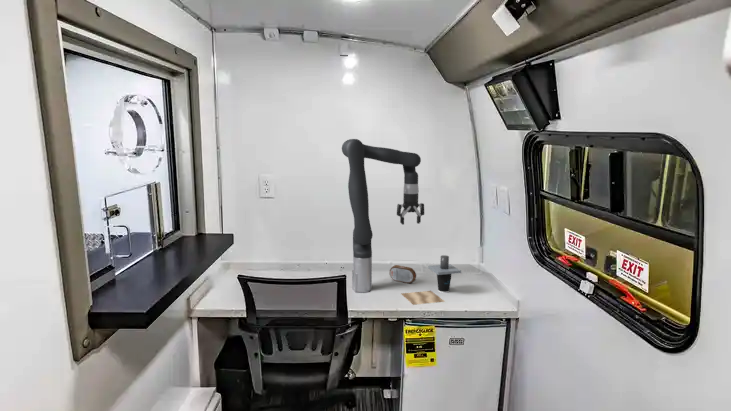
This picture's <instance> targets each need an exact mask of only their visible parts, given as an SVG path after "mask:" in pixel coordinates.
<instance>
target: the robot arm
mask: <svg viewBox="0 0 731 411" xmlns="http://www.w3.org/2000/svg"><path fill="white" fill-rule="evenodd" d="M341 152H342V154H343V155H344V156H345V157H346V158H347V159H348V164H349V175H348V181H347V182H348V183H347V187H348V188H347V189H348V196H349V197H348V198H349V203H350V207H351V211H352V214H353V224H354V228H353V230H352V254H353V260H352V261H353V263H352V266H353V267H352V268H353V269H352V271H351V281H352V282H351V284H352V285H351V288H352V290H353V291H354V292H355V293H369V292H371V291H372V290H373V289H372V288H373V285H372V282H373V280H372V279H373V276H372V275H373V273H372V272H373V269H372V268H373V250H372V239H373V231H372V227H371V226H372V225H371V221H370V215H369V214H370V213H369V212H370V211H369V208H370V206H369V203H370V202H369V192H368V184H367V175H366V169H365V159H370V160H375V161H378V162H383V163H388V164H393V165H402V169H403V174H404V177H403V180H404V182H403V183H404V184H403V198H402V199H403V200H402V201H403V203H402V204H400V203H397V206H396V207H397V208H396V216H397V217H399V219H400V221H399V222H400V224H401V225H405V216H406V215H407V213H415V214H416V224H421V217H422V216H424V215H425V203H422V202H421V203H419V174H418V172H417V171H416V170H417V169H416V167H418V166H420V164H421V161H422V159H421V157H420V155H419V154H418V153H415V152H409V151H401V150H398V149H394V148H387V147H381V146H373V145H368V144H364V143H363V142H362V141H361V140H359V139H357V138H350V139H347V140H345V141H344V142H343V143H342V146H341ZM418 208H420V210H418ZM402 209H403V210H402Z"/></svg>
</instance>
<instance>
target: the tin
mask: <svg viewBox="0 0 731 411" xmlns="http://www.w3.org/2000/svg"><path fill="white" fill-rule="evenodd" d="M389 277H390V278H391V279H392V281H395V282H399V283H404V284H412V283H413V282H415V281H416V279H417V273H416V271H415V269H413V268H412V267H410V266H404V265H397V264H394V265H393V266H392V267H390V269H389Z"/></svg>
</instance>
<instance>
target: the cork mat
mask: <svg viewBox="0 0 731 411" xmlns="http://www.w3.org/2000/svg"><path fill="white" fill-rule="evenodd" d="M400 295H401V296H403V297H404V298H405V299H406V300H407V301H409V303H410V304H411V305H412V306H414V305H424V304H432V303H433V304H435V303H444V302H445V303H446V301H445V300H444V299H443V298H441V297H440V296H438V295H437V294H436V292H433V291H431V290H425V291H415V292H413V291H412V292H405V293H404V292H403V293H400Z"/></svg>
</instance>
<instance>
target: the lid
mask: <svg viewBox="0 0 731 411" xmlns="http://www.w3.org/2000/svg"><path fill="white" fill-rule="evenodd" d="M427 269H429V270H430V271H432V272H433V273H434V274H436V275H437V274H438V275H443V274H451V275H452V274H462V270H461V269H459V268H458V267H455V266H454V265H452V264H450V256H449V255H446V254H445V255H444V254H443V255H440V264H436V265H428V266H427Z"/></svg>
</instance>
